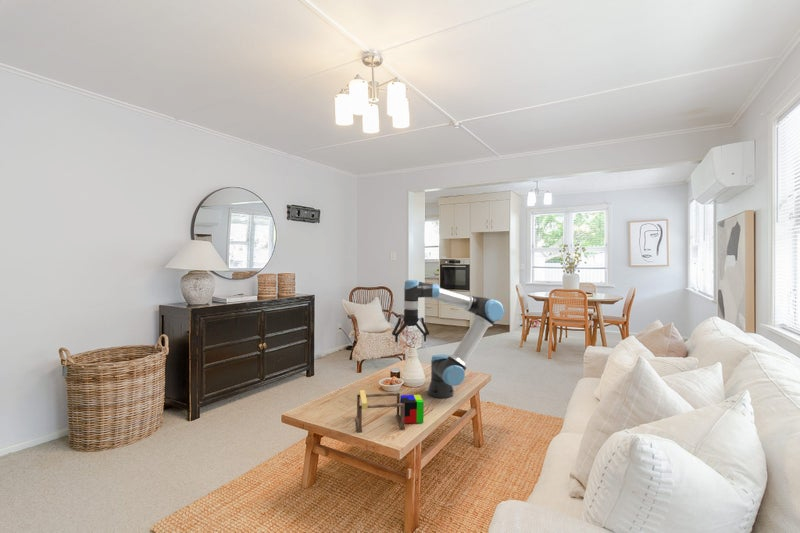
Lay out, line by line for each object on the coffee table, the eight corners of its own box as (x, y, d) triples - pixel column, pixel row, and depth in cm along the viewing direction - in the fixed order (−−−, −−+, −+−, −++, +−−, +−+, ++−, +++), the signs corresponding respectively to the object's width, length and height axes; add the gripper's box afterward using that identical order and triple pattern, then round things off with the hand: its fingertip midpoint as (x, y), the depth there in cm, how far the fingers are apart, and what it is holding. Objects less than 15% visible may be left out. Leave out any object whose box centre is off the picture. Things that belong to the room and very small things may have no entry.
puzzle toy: (400, 414, 194) (400, 395, 194) (419, 414, 196) (419, 394, 195) (403, 423, 184) (403, 402, 184) (423, 422, 186) (423, 402, 186)
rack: (399, 416, 194) (400, 392, 193) (405, 429, 179) (405, 404, 178) (356, 418, 190) (356, 394, 190) (357, 432, 175) (358, 406, 175)
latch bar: (364, 395, 192) (364, 390, 191) (367, 409, 174) (367, 403, 174) (359, 395, 191) (359, 390, 191) (362, 409, 174) (362, 403, 174)
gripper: (431, 307, 212) (431, 345, 212) (387, 307, 208) (386, 346, 208) (435, 309, 204) (434, 348, 205) (389, 309, 200) (388, 350, 201)
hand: (410, 347), depth 206 cm, fingers open, 13 cm apart
